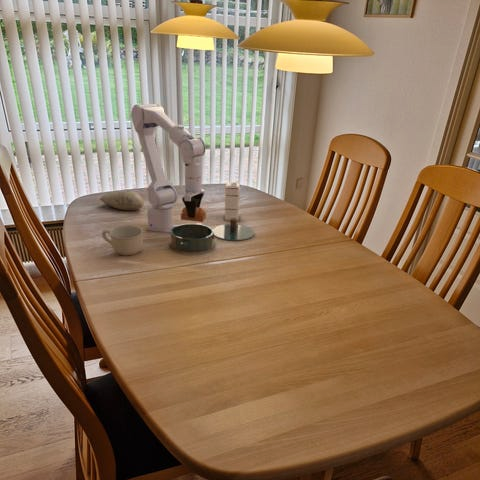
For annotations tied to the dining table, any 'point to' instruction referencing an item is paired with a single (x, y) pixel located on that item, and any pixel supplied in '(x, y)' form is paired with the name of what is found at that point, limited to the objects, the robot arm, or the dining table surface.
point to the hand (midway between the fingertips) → (193, 215)
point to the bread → (199, 215)
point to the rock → (123, 200)
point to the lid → (233, 231)
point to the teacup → (125, 239)
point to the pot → (192, 244)
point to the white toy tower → (232, 200)
